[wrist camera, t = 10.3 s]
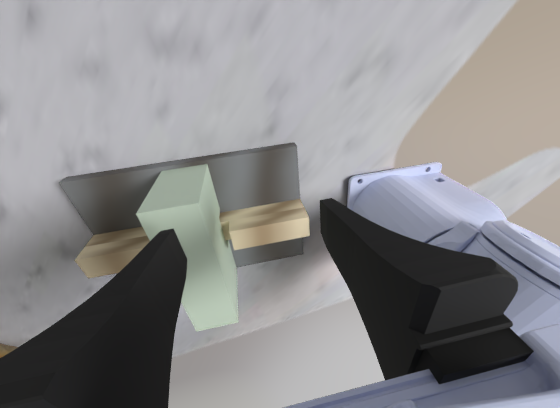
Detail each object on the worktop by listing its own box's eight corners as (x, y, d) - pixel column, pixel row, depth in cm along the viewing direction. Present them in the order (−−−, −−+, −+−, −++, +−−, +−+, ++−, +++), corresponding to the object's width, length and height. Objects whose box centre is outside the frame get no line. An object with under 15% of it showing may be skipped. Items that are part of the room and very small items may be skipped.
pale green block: (236, 269, 25) (238, 322, 20) (203, 276, 25) (196, 331, 20) (207, 163, 19) (198, 203, 14) (161, 171, 18) (135, 213, 13)
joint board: (294, 142, 20) (306, 159, 17) (300, 247, 27) (311, 275, 23) (66, 177, 18) (30, 203, 15) (132, 280, 25) (117, 315, 22)
